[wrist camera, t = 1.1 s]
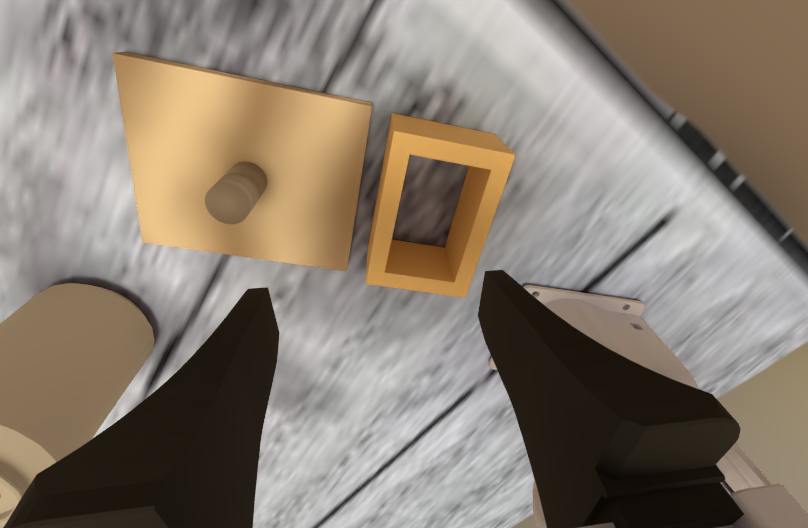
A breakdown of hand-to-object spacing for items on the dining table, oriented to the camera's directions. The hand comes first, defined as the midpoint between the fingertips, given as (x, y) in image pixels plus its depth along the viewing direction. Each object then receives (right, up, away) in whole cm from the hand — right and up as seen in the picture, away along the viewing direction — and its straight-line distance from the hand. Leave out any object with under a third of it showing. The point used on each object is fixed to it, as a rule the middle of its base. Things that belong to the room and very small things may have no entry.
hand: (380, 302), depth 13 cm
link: (+2, +5, +10) cm, 12 cm away
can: (-20, -3, +14) cm, 25 cm away
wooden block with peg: (-8, +6, +9) cm, 14 cm away
